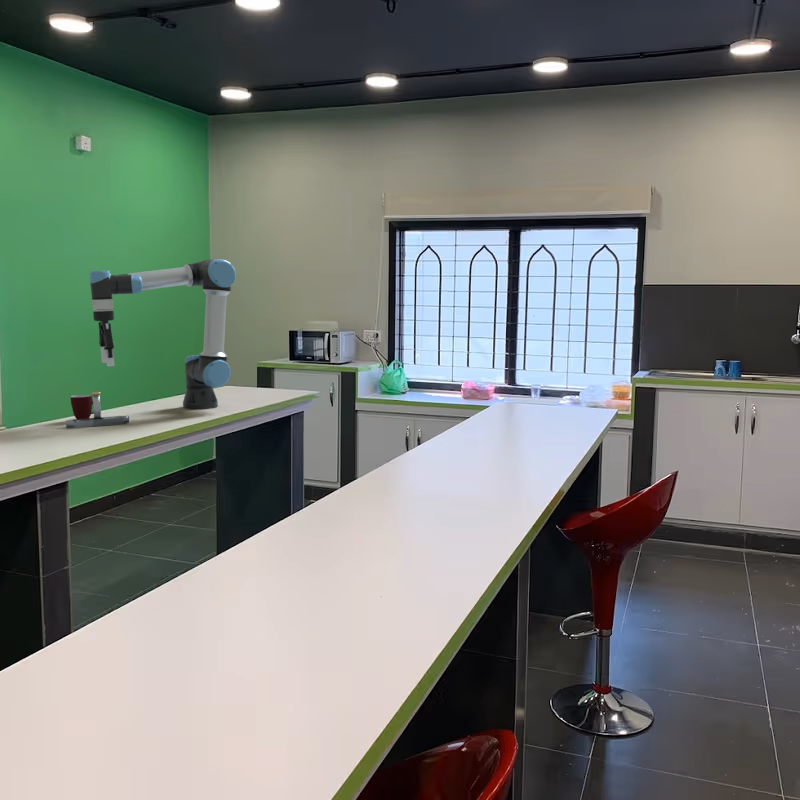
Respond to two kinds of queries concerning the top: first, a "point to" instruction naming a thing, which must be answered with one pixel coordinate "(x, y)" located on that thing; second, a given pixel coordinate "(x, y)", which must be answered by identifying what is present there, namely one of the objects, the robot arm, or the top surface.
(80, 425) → the grey rounded bar
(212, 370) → the robot arm
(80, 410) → the mug
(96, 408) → the pin
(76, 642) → the top surface
